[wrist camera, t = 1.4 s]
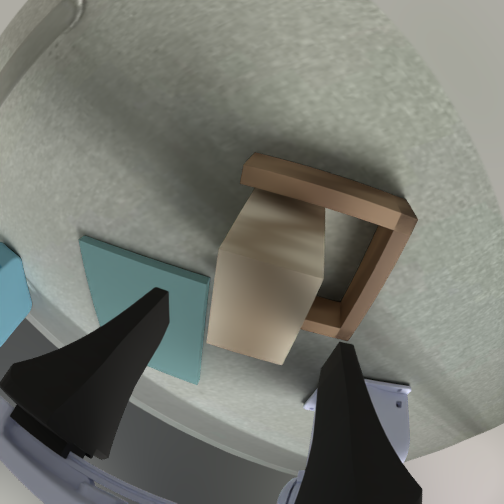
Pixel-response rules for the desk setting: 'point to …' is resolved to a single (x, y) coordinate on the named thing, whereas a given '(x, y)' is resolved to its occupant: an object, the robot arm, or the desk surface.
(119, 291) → the slate-teal mat
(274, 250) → the ash blank
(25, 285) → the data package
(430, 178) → the desk surface
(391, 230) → the frame
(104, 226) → the desk surface
